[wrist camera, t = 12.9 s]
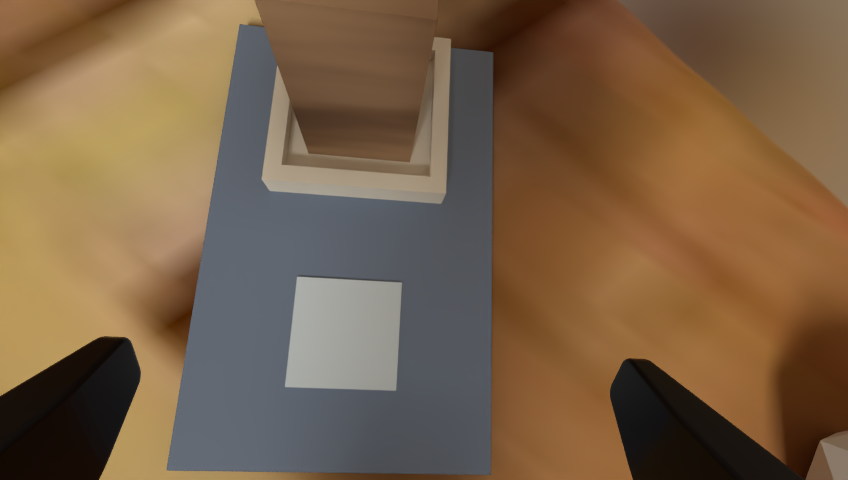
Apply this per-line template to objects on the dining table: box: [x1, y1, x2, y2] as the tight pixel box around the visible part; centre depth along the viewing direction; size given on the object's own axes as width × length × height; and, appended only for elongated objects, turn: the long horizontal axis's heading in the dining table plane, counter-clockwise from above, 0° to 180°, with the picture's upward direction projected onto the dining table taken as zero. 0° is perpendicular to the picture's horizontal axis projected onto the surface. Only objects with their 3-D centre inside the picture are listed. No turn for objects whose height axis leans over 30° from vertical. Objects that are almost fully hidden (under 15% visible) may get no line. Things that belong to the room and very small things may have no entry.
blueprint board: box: [167, 24, 493, 475], centre depth 21 cm, size 22×14×2 cm, turn 177°
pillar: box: [255, 0, 439, 162], centre depth 17 cm, size 5×5×10 cm
